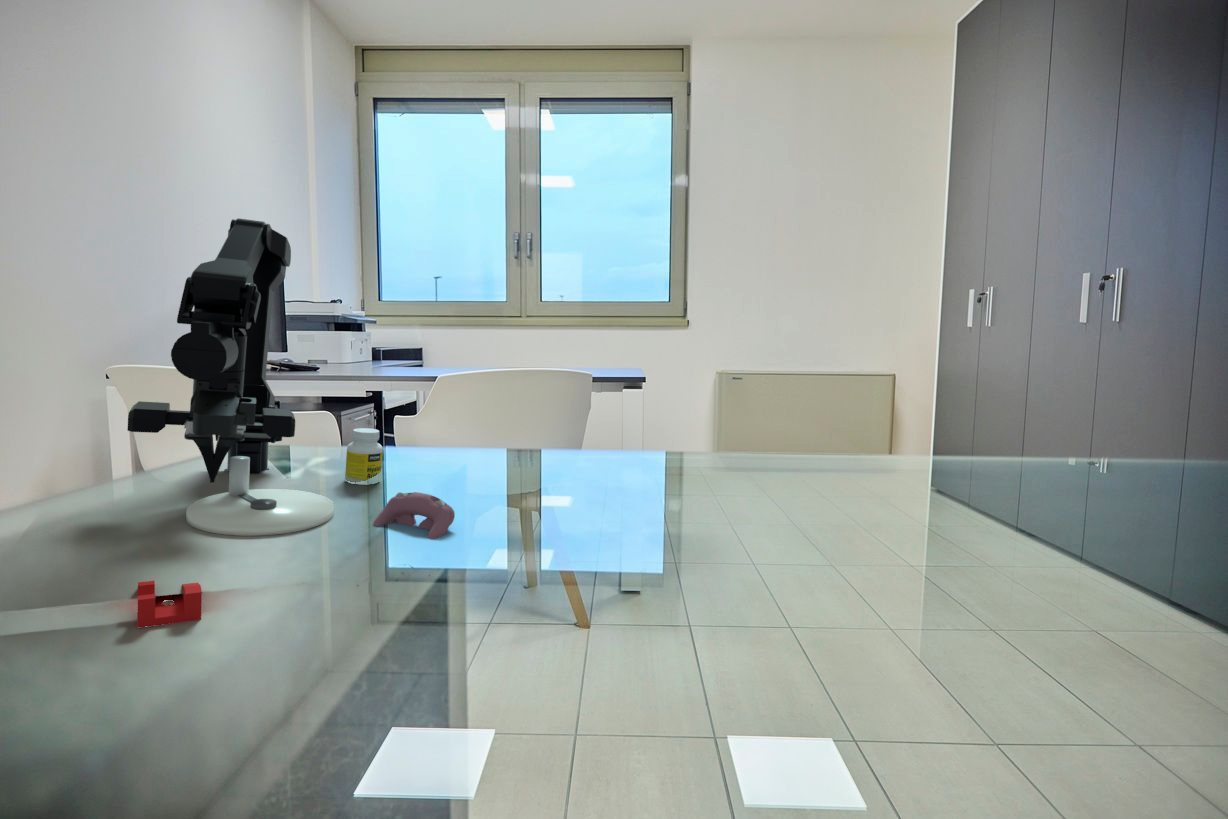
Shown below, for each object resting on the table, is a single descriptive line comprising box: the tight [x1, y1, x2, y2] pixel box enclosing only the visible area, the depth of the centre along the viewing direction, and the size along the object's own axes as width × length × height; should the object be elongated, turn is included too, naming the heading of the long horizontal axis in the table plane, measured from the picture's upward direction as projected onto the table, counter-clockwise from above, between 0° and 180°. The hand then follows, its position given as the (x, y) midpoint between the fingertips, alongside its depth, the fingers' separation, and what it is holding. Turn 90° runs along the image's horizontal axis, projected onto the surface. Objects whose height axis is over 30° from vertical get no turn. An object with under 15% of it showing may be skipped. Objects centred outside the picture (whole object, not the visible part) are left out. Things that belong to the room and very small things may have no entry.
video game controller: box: [372, 491, 456, 540], centre depth 89 cm, size 10×5×7 cm, turn 72°
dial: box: [185, 456, 335, 537], centre depth 87 cm, size 17×17×6 cm
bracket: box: [136, 580, 203, 628], centre depth 63 cm, size 6×5×3 cm
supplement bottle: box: [344, 427, 384, 483], centre depth 108 cm, size 5×5×10 cm
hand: (212, 481), depth 91 cm, fingers closed
